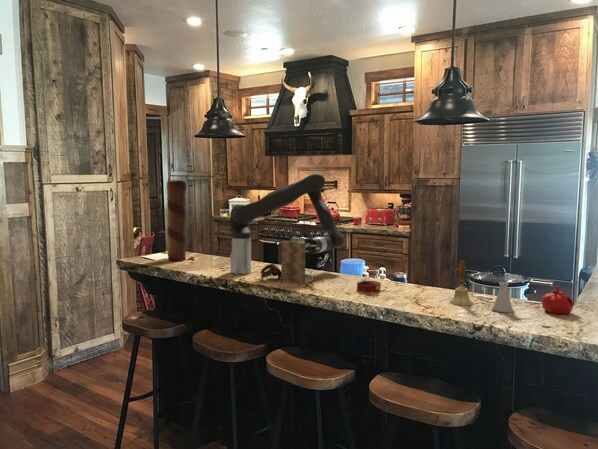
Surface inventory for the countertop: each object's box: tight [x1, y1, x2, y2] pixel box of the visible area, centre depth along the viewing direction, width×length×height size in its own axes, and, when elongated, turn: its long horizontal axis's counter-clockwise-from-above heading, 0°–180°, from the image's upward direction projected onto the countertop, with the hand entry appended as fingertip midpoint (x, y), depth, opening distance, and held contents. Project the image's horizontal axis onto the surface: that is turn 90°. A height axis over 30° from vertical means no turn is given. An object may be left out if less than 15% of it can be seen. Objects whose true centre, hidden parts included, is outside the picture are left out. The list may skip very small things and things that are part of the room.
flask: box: [491, 281, 514, 314], centre depth 170 cm, size 7×7×10 cm
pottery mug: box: [260, 263, 281, 280], centre depth 221 cm, size 12×10×8 cm
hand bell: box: [449, 260, 474, 307], centre depth 180 cm, size 8×8×16 cm
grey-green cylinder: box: [290, 236, 305, 243], centre depth 216 cm, size 4×5×12 cm
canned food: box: [356, 271, 382, 294], centre depth 201 cm, size 11×10×10 cm
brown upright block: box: [280, 240, 314, 285], centre depth 217 cm, size 12×9×18 cm
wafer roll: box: [166, 179, 187, 262], centre depth 269 cm, size 10×11×45 cm
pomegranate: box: [541, 285, 574, 315], centre depth 168 cm, size 10×10×9 cm
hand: (295, 249), depth 215 cm, fingers closed on grey-green cylinder, 4 cm apart
